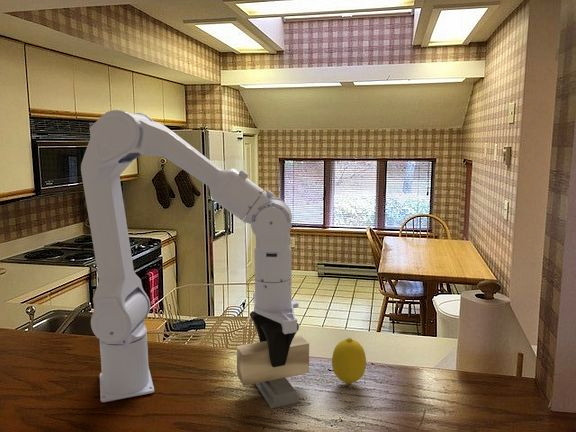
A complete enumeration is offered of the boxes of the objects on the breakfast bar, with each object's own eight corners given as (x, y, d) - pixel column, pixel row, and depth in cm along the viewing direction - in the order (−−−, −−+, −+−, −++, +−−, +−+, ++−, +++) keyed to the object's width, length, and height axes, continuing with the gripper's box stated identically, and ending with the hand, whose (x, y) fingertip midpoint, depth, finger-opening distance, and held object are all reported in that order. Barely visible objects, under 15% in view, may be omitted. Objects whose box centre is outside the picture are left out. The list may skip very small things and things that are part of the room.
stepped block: (251, 378, 81) (251, 363, 81) (276, 373, 83) (276, 358, 83) (271, 408, 72) (271, 391, 72) (299, 402, 74) (299, 386, 73)
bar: (237, 375, 77) (236, 346, 76) (300, 363, 81) (300, 335, 80) (243, 385, 73) (242, 355, 73) (309, 372, 78) (309, 343, 77)
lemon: (324, 382, 80) (325, 336, 79) (349, 372, 83) (349, 328, 82) (348, 396, 75) (348, 348, 74) (372, 385, 79) (373, 339, 77)
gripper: (316, 287, 69) (316, 375, 72) (280, 263, 83) (280, 338, 85) (270, 293, 67) (271, 384, 69) (240, 268, 80) (242, 345, 82)
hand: (273, 359), depth 77 cm, fingers closed on bar, 3 cm apart
